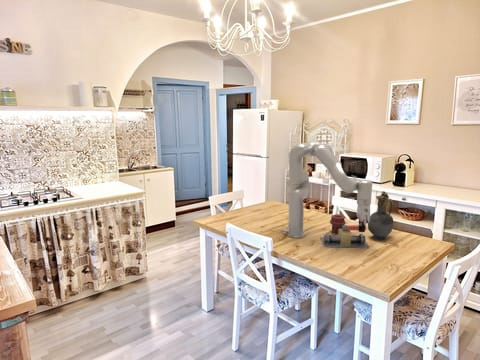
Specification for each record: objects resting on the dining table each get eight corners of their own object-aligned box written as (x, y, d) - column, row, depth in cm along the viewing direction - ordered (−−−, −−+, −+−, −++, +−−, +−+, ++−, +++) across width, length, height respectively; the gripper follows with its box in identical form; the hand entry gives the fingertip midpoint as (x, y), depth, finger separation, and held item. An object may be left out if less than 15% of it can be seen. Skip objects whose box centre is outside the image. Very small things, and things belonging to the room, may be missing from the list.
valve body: (324, 247, 190) (325, 234, 188) (320, 238, 204) (320, 226, 202) (369, 248, 188) (370, 235, 187) (362, 239, 202) (363, 227, 200)
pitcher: (364, 237, 204) (367, 192, 199) (381, 231, 215) (385, 188, 209) (380, 243, 195) (384, 195, 190) (397, 236, 206) (401, 191, 200)
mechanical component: (344, 230, 217) (345, 235, 208) (328, 229, 219) (329, 234, 210) (345, 213, 215) (346, 217, 205) (329, 212, 217) (330, 216, 207)
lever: (343, 231, 193) (343, 226, 192) (341, 229, 196) (341, 225, 195) (366, 230, 194) (366, 226, 193) (363, 228, 196) (364, 224, 196)
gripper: (375, 204, 176) (372, 236, 180) (366, 198, 191) (363, 227, 195) (361, 204, 177) (358, 236, 180) (353, 198, 191) (351, 227, 195)
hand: (361, 231), depth 187 cm, fingers closed
